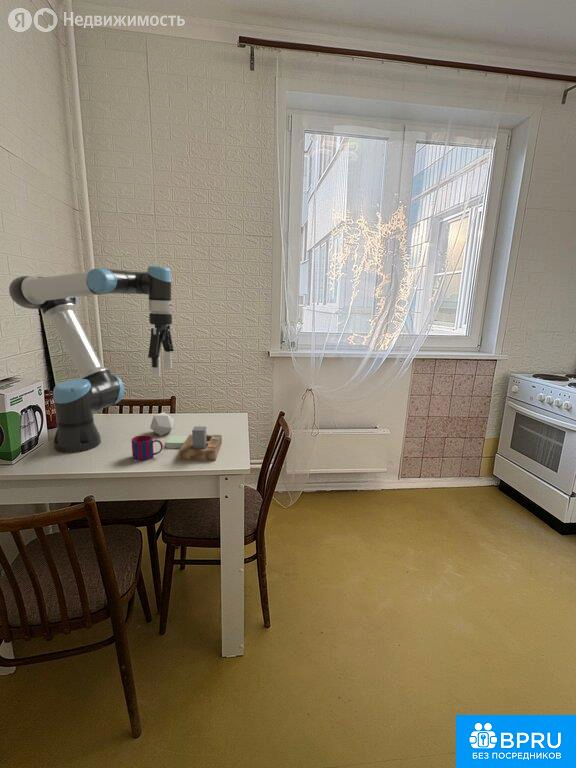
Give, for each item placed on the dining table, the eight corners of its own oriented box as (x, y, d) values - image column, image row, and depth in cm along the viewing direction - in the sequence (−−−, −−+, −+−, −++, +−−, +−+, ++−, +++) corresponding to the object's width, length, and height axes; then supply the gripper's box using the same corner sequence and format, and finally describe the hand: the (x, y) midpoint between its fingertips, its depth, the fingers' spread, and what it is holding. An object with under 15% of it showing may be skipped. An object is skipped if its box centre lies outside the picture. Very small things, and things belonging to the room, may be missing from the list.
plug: (193, 457, 131) (192, 430, 128) (195, 453, 135) (194, 426, 132) (204, 458, 131) (204, 430, 129) (206, 453, 135) (206, 426, 132)
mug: (138, 452, 134) (137, 434, 132) (166, 454, 133) (165, 436, 131) (128, 460, 127) (127, 441, 126) (157, 462, 126) (156, 443, 125)
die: (177, 436, 151) (179, 413, 156) (159, 431, 145) (162, 406, 149) (162, 440, 156) (165, 417, 160) (144, 435, 149) (147, 411, 153)
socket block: (179, 460, 129) (179, 449, 128) (189, 443, 143) (189, 434, 142) (215, 460, 129) (215, 450, 128) (221, 443, 144) (221, 434, 143)
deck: (166, 447, 139) (165, 442, 138) (171, 440, 145) (171, 435, 145) (185, 448, 139) (185, 442, 138) (189, 440, 146) (189, 435, 145)
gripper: (160, 315, 121) (161, 380, 126) (180, 311, 145) (181, 366, 150) (136, 314, 121) (138, 379, 126) (160, 310, 145) (162, 365, 150)
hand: (162, 372), depth 138 cm, fingers open, 13 cm apart
